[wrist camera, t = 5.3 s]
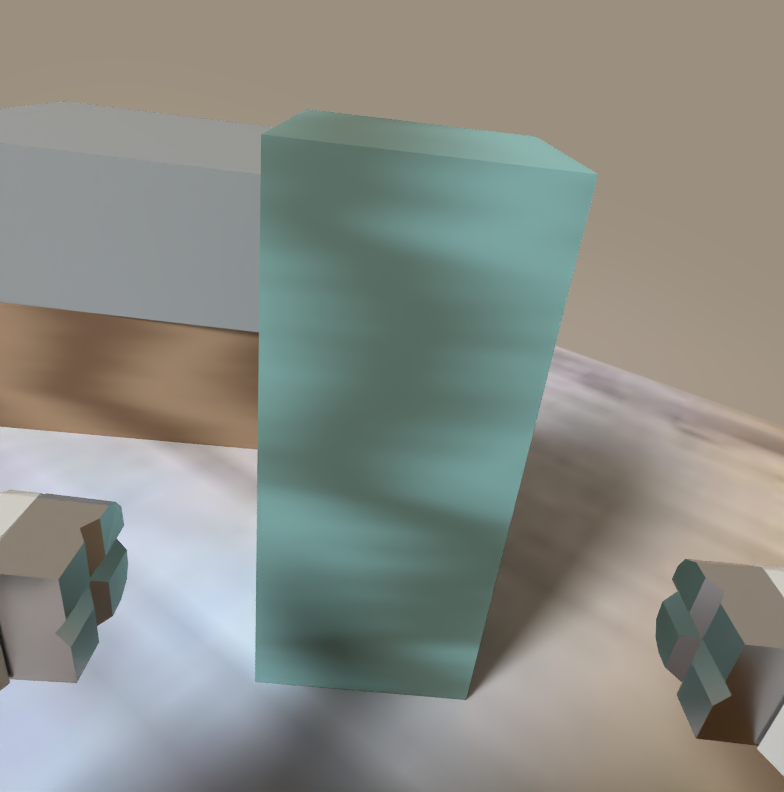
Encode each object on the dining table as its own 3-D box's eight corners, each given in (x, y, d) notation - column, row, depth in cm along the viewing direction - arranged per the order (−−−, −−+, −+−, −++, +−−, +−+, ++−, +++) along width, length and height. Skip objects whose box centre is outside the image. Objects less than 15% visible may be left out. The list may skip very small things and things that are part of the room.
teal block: (451, 554, 19) (536, 136, 14) (466, 699, 15) (597, 173, 9) (288, 538, 19) (306, 109, 14) (255, 681, 15) (260, 134, 9)
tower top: (319, 241, 32) (326, 133, 29) (269, 333, 21) (273, 175, 19) (77, 212, 31) (63, 101, 29) (-98, 290, 21) (-141, 125, 18)
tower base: (310, 331, 34) (316, 239, 32) (276, 456, 23) (279, 331, 21) (82, 309, 33) (70, 213, 31) (-60, 426, 23) (-94, 294, 20)
